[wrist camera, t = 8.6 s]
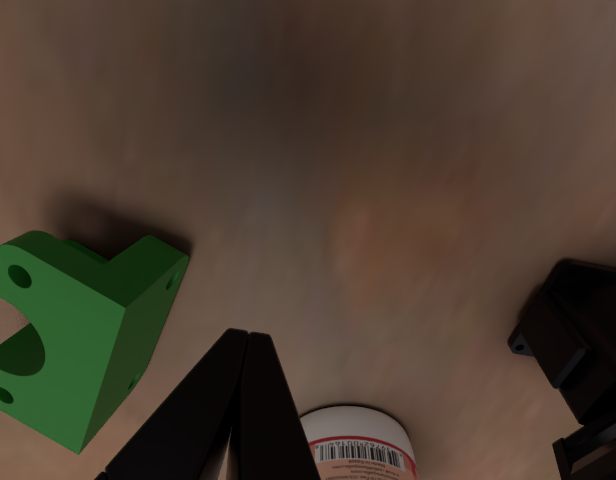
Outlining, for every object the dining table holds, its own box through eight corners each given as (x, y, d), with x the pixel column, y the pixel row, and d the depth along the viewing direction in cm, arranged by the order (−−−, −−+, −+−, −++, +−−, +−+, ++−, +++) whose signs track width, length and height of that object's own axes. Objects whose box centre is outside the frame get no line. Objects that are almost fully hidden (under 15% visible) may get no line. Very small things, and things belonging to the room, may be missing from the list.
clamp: (126, 197, 25) (11, 192, 16) (212, 246, 25) (146, 269, 16) (41, 363, 26) (-112, 447, 17) (123, 410, 26) (14, 519, 17)
